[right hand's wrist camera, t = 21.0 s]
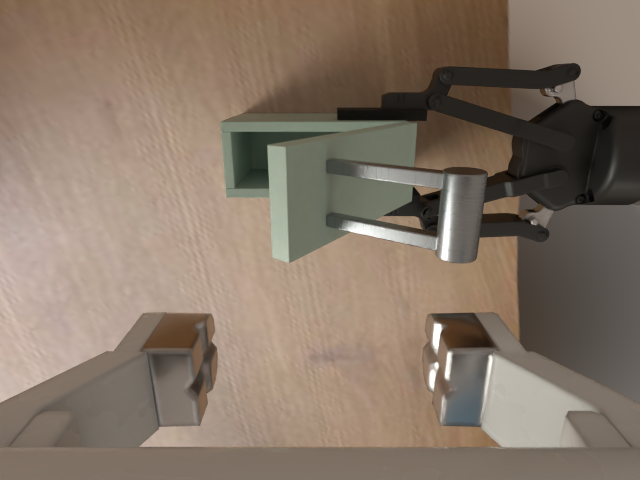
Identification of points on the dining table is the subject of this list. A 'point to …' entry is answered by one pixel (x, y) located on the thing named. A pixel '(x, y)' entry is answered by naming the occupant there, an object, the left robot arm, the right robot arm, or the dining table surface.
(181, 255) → the dining table surface
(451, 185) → the lid
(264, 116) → the chest
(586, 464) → the right robot arm
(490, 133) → the dining table surface
